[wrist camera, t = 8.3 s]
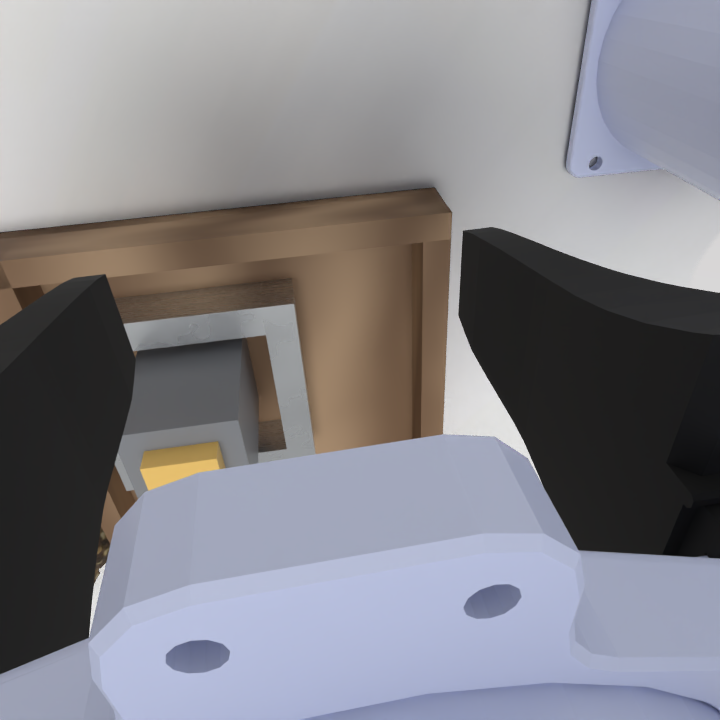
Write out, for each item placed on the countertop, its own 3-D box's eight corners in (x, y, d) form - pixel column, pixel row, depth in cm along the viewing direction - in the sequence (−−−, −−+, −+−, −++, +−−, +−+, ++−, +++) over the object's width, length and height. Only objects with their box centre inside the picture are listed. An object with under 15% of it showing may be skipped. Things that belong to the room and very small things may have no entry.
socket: (291, 277, 22) (294, 303, 21) (313, 433, 27) (316, 464, 26) (70, 303, 22) (55, 331, 20) (134, 458, 27) (126, 490, 25)
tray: (434, 187, 22) (452, 212, 20) (427, 500, 32) (438, 536, 30) (-5, 233, 20) (-34, 264, 18) (139, 542, 31) (130, 583, 29)
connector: (243, 321, 23) (237, 437, 18) (258, 397, 26) (258, 519, 20) (142, 333, 23) (105, 455, 18) (168, 408, 25) (142, 536, 20)
